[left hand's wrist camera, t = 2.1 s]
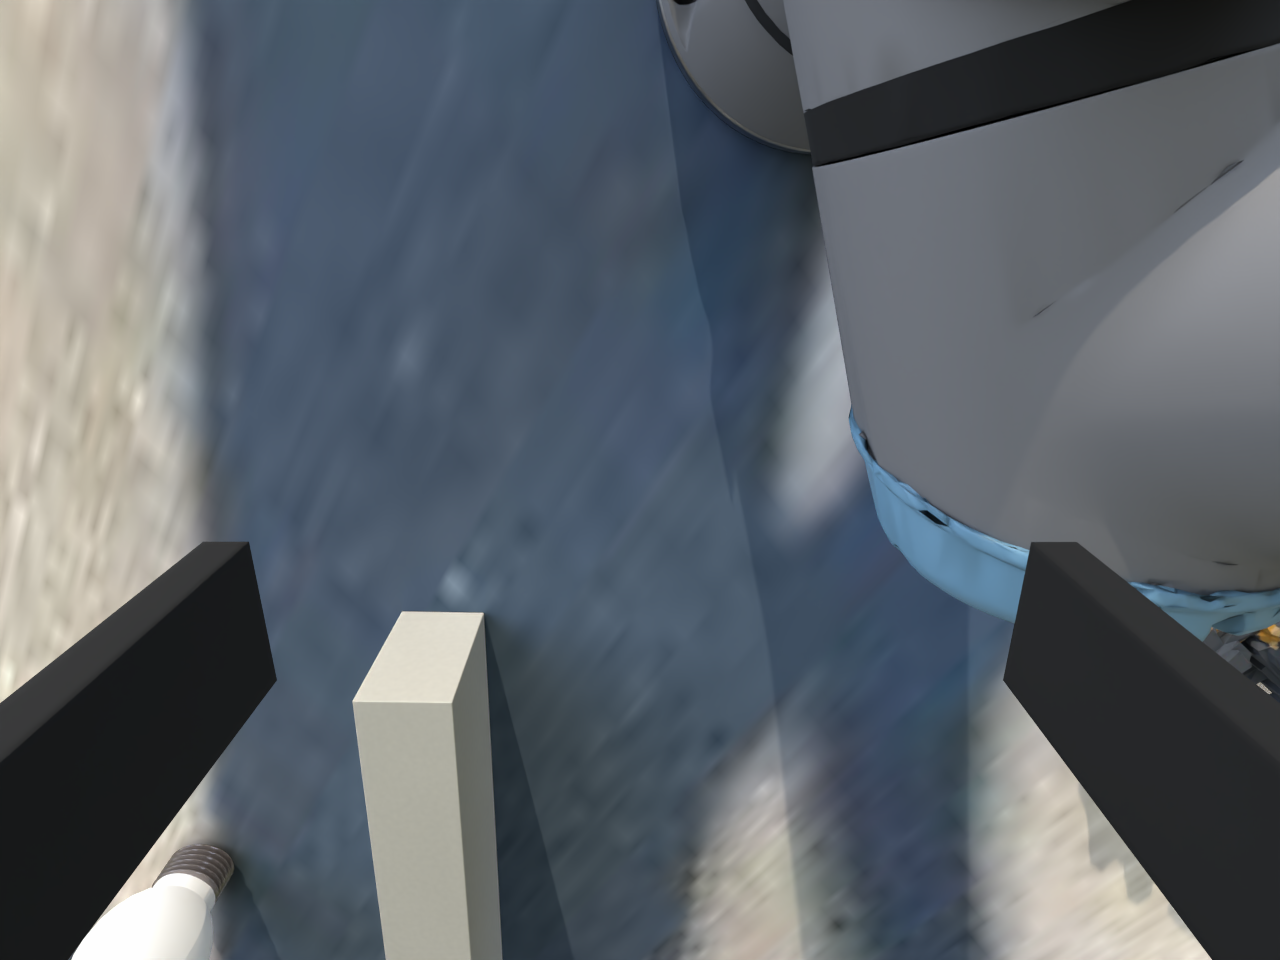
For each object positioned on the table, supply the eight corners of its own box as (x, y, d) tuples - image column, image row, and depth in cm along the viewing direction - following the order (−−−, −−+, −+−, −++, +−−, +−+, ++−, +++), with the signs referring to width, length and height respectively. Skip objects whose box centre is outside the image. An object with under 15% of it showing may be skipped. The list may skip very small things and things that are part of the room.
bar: (401, 611, 43) (352, 701, 35) (483, 612, 43) (452, 702, 35) (442, 1030, 55) (412, 1164, 48) (506, 1030, 55) (486, 1164, 48)
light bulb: (219, 813, 48) (106, 983, 37) (275, 887, 50) (183, 1067, 40) (128, 844, 48) (-7, 1018, 38) (187, 915, 51) (74, 1098, 40)
